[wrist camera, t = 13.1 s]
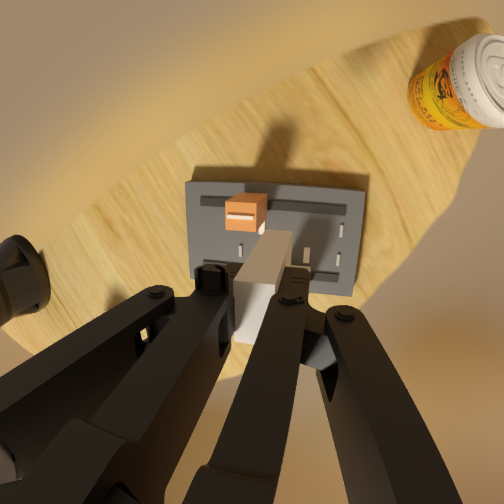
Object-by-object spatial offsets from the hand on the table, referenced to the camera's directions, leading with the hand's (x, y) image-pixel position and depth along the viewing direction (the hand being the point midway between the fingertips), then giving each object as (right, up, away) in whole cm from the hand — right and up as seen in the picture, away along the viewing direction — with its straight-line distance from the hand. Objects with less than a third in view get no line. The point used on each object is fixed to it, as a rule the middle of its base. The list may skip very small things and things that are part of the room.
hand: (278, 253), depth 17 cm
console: (+1, +2, +15) cm, 15 cm away
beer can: (+16, +15, +6) cm, 23 cm away
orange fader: (-1, +5, +12) cm, 13 cm away
